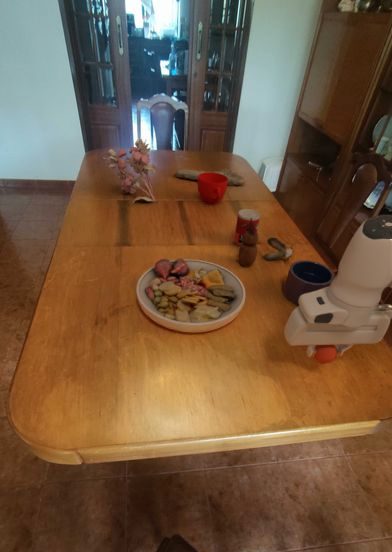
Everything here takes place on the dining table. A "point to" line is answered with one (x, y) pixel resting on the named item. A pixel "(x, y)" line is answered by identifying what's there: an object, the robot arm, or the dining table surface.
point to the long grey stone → (232, 177)
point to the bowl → (190, 295)
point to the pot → (306, 279)
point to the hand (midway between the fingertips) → (323, 354)
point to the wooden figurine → (248, 246)
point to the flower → (138, 165)
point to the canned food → (245, 224)
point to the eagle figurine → (280, 247)
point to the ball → (325, 353)
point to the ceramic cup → (212, 187)
